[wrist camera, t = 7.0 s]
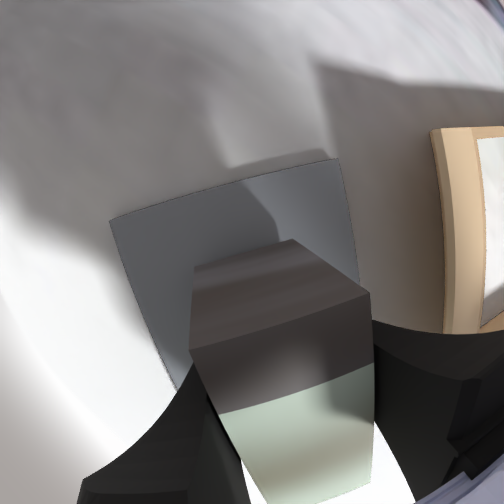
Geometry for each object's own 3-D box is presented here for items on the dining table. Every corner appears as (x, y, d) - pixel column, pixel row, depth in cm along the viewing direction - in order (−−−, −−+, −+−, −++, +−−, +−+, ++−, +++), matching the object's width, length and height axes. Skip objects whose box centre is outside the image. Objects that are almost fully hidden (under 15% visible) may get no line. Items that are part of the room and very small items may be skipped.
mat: (363, 370, 16) (367, 376, 15) (199, 422, 15) (199, 429, 14) (332, 158, 13) (338, 158, 12) (112, 219, 12) (109, 220, 11)
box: (323, 399, 14) (369, 482, 9) (251, 422, 14) (275, 515, 8) (292, 238, 12) (369, 292, 6) (194, 266, 12) (188, 349, 6)
